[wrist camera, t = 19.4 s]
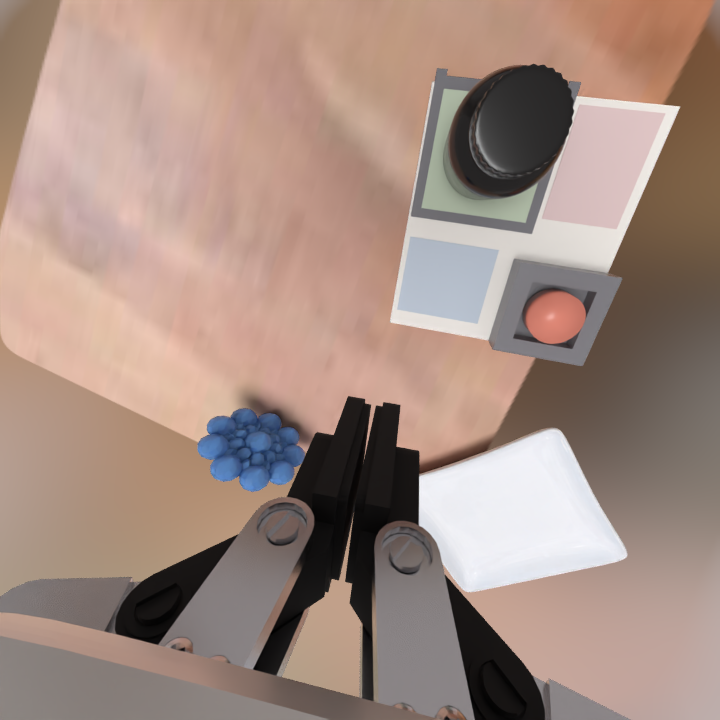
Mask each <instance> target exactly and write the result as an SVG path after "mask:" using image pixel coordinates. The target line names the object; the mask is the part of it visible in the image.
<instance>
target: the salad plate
mask: <svg viewBox="0 0 720 720" xmlns="http://www.w3.org/2000/svg"><path fill="white" fill-rule="evenodd" d="M419 526H421V527H423V528H424V529H425V530H426V531H427V532H429V533H430V534H431V536H432V537H433V538H434V540H435V541H436V543H437V545H438V548H439V551H440V555H441V560H442V563H443V564H444V566H445V567H446V569H447V570H448V571H449V573H450V574H451V575H452V577H453V578H454V580H455V581H456V582H457V583H458V585H459V586H460V587H461V588H462V589H463V590H464V591H467V592H475V591H481V590H485V589H490V588H495V587H500V586H505V585H510V584H514V583H519V582H524V581H529V580H534V579H538V578H543V577H547V576H552V575H558V574H562V573H567V572H572V571H577V570H581V569H586V568H591V567H596V566H601V565H605V564H610V563H614V562H617V561H620V560H623V559H625V558H626V557H627V550H626V548H625V546H624V544H623V542H622V540H621V539H620V537H619V535H618V534H617V532H616V531H615V529H614V528H613V526H612V524H611V523H610V521H609V519H608V518H607V516H606V514H605V513H604V511H603V509H602V508H601V506H600V504H599V502H598V500H597V499H596V497H595V495H594V493H593V491H592V490H591V488H590V486H589V483H588V481H587V479H586V477H585V475H584V473H583V471H582V469H581V467H580V465H579V463H578V461H577V459H576V457H575V455H574V453H573V451H572V449H571V447H570V445H569V443H568V441H567V439H566V437H565V436H564V435H563V433H562V431H561V430H559V429H557V428H552V427H550V428H544V429H540V430H538V431H535V432H532V433H530V434H527V435H525V436H523V437H520V438H518V439H516V440H514V441H511V442H508V443H506V444H503V445H501V446H498V447H496V448H493V449H490V450H488V451H485V452H482V453H480V454H477V455H474V456H471V457H469V458H466V459H463V460H460V461H458V462H455V463H452V464H449V465H446V466H443V467H440V468H437V469H434V470H431V471H428V472H425V473H421V474H419Z"/></svg>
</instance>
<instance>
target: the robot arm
mask: <svg viewBox="0 0 720 720" xmlns="http://www.w3.org/2000/svg"><path fill="white" fill-rule="evenodd" d="M370 409H371V405H370V404H365V399H362V398H356V397H350V396H348V398H347V401H346V403H345V406H344V409H343V412H342V414H341V417H340V420H339V422H338V425H337V428H336V431H335V433H334V435H329V434H324V433H318V432H317V433H316V434H315V436H314V438H313V440H312V442H311V444H310V447H309V449H308V451H307V453H306V456H305V458H304V460H303V462H302V464H301V467H300V469H299V471H298V473H297V476H296V478H295V480H294V482H293V484H292V487H291V489H290V491H289V493H288V496H287V497H281V498H277V499H273V500H270V501H268V502H266V503H265V504H263V505H262V506H261V507H260V508H259V509H258V510H257V511H256V512H255V513H254V514H253V516H252V517H251V518H250V520H249V521H248V522H247V524H246V525H245V527H244V528H243V529H242V531H241V532H240V533H239V534H238V535H236V536H234V537H232V538H229V539H227V540H225V541H223V542H221V543H219V544H217V545H215V546H213V547H210V548H208V549H206V550H204V551H202V552H200V553H198V554H196V555H194V556H192V557H189V558H187V559H185V560H183V561H181V562H179V563H177V564H174V565H172V566H170V567H168V568H166V569H164V570H162V571H160V572H158V573H155V574H153V575H152V576H150V577H149V578H147V579H145V580H144V581H142V582H133V579H132V577H118V578H117V577H116V578H71V579H40V580H35V581H30V582H26V583H24V584H22V585H19V586H17V587H15V588H12V589H11V590H9V591H8V592H6V593H5V594H3V595H2V596H0V720H630V719H628V718H626V717H624V716H622V715H620V714H618V713H616V712H614V711H612V710H610V709H608V708H607V707H605V706H603V705H600V704H599V703H597V702H595V701H593V700H590V699H589V698H587V697H585V696H582V695H581V694H579V693H577V692H575V691H573V690H571V689H568V688H567V687H565V686H563V685H561V684H559V683H557V682H555V681H553V680H551V679H548V680H547V682H546V683H545V682H544V681H541V680H539V679H538V678H536V677H534V676H532V675H531V673H530V672H529V671H528V669H527V668H526V666H525V665H524V664H523V663H522V661H521V660H520V659H519V658H518V657H517V656H516V655H515V653H514V652H513V651H512V650H511V649H510V648H509V647H508V645H507V644H506V643H505V642H504V641H503V640H502V639H501V638H500V636H499V635H498V634H497V633H496V632H495V631H494V630H493V629H492V627H491V626H490V625H489V624H488V623H487V622H486V621H485V619H484V618H483V617H482V616H481V615H480V614H479V613H478V612H477V610H476V609H475V608H474V607H473V606H472V605H471V604H470V602H469V601H468V600H467V599H466V598H465V597H464V596H463V595H462V593H461V592H460V591H459V590H458V589H457V588H456V587H455V586H454V584H453V583H452V582H451V581H450V580H449V579H448V578H447V576H446V575H445V574H444V569H443V565H442V560H441V555H440V551H439V548H438V545H437V543H436V541H435V540H434V538H433V537H432V536H431V534H430V533H429V532H427V531H426V530H425V529H424V528H423V527H421V526H419V451H417V450H411V449H406V448H400V447H396V444H397V434H398V424H399V414H400V405H397V404H391V403H385V402H384V403H383V407H382V406H376V408H375V413H374V418H373V422H372V427H371V431H370V436H369V441H368V445H367V450H366V454H365V447H366V440H367V432H368V424H369V417H370ZM364 455H365V459H364ZM363 463H364V464H363ZM353 513H354V516H353ZM352 518H353V524H352V532H351V540H350V548H349V556H348V564H347V572H346V580H345V582H348V583H352V590H351V597H350V604H351V606H352V607H353V609H354V611H355V612H356V614H357V615H358V617H359V619H360V621H361V626H360V696H359V697H355V696H351V695H347V694H343V693H340V692H336V691H332V690H328V689H324V688H321V687H317V686H313V685H309V684H306V683H302V682H298V681H294V680H290V679H286V678H283V677H282V675H283V673H284V670H285V668H286V666H287V663H288V661H289V658H290V656H291V654H292V651H293V649H294V646H295V644H296V641H297V639H298V637H299V634H300V632H301V629H302V627H303V625H304V622H305V620H306V617H307V615H308V612H309V608H310V606H311V605H313V604H314V603H316V602H317V601H318V600H320V599H322V598H323V597H324V595H325V592H328V591H329V587H330V583H331V579H335V580H339V577H340V574H341V568H342V564H343V560H344V555H345V550H346V546H347V541H348V537H349V532H350V527H351V523H352Z"/></svg>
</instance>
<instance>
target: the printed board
mask: <svg viewBox="0 0 720 720" xmlns="http://www.w3.org/2000/svg"><path fill="white" fill-rule="evenodd" d="M447 70H448V69H440V68H437V72H436V78H435V82H433V81H432V86H431V92H430V97H429V103H428V109H427V114H426V120H425V126H424V131H423V137H422V143H421V148H420V154H419V160H418V165H417V171H416V177H415V183H414V188H413V194H412V200H411V205H410V211H409V217H408V222H407V228H406V234H405V239H404V245H403V251H402V256H401V262H400V268H399V273H398V279H397V285H396V290H395V296H394V302H393V307H392V313H391V319H390V323H396V324H401V325H407V326H412V327H418V328H423V329H429V330H434V331H440V332H445V333H451V334H456V335H462V336H467V337H473V338H478V339H484V340H489V337H490V334H491V330H492V327H493V324H494V321H495V318H496V314H497V311H498V308H499V305H500V302H501V298H502V295H503V292H504V289H505V286H506V283H507V279H508V276H509V273H510V270H511V267H512V263H513V260H514V259H521V260H527V261H534V262H540V263H547V264H553V265H559V266H566V267H572V268H579V269H585V270H592V271H598V272H605V273H608V271H609V269H610V267H611V264H612V262H613V260H614V258H615V255H616V253H617V251H618V248H619V246H620V244H621V241H622V239H623V237H624V234H625V232H626V230H627V228H628V225H629V223H630V221H631V218H632V216H633V214H634V211H635V209H636V207H637V204H638V202H639V200H640V198H641V195H642V193H643V191H644V189H645V186H646V184H647V182H648V179H649V177H650V175H651V172H652V170H653V168H654V165H655V163H656V161H657V159H658V156H659V154H660V152H661V149H662V147H663V145H664V142H665V140H666V138H667V136H668V133H669V131H670V128H671V126H672V124H673V122H674V119H675V117H676V115H677V112H678V110H679V108H680V107H678V106H668V105H659V104H649V103H639V102H629V101H619V100H610V99H600V98H590V97H580V96H577V94H578V91H579V88H580V85H581V82H573V81H570V82H569V84H568V87H569V88H570V89H571V90H572V95H571V96H572V98H573V100H574V103H573V109H574V114H573V116H572V122H573V123H572V125H571V127H570V128H569V135H568V136H567V138H566V142H565V145H564V147H563V150H562V152H561V154H560V156H559V158H558V160H557V161H556V163H555V164H554V166H553V167H552V169H551V170H550V171H549V172H548V173H547V175H546V176H545V177H544V178H543V179H542V180H540V181H539V182H538V183H537V184H536V185H534V186H533V187H531V188H530V189H528V190H526V191H524V192H522V193H520V194H518V195H515V196H512V197H508V198H503V199H493V200H473V199H469V198H466V197H464V196H462V195H460V194H459V193H458V192H456V191H455V190H454V189H453V187H452V186H451V185H450V183H449V182H448V180H447V178H446V175H445V172H444V167H443V152H444V146H445V142H446V139H447V136H448V133H449V130H450V127H451V123H452V120H453V118H454V115H455V113H456V111H457V109H458V107H459V105H460V104H461V102H462V100H463V99H464V98H465V96H466V95H467V94H468V92H469V91H470V90H471V89H472V88H473V87H474V86H475V85H476V84H477V83H478V82H479V81H480V80H482V79H474V78H464V77H454V76H446V75H447Z"/></svg>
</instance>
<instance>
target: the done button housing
mask: <svg viewBox="0 0 720 720" xmlns="http://www.w3.org/2000/svg"><path fill="white" fill-rule="evenodd" d="M621 281H622V278H621V277H618V276H615V275H612V274H609V273H605V272H598V271H592V270H585V269H579V268H572V267H566V266H559V265H553V264H547V263H540V262H534V261H527V260H521V259H514V260H513V263H512V267H511V270H510V273H509V276H508V279H507V283H506V286H505V289H504V292H503V295H502V298H501V302H500V305H499V308H498V311H497V314H496V318H495V321H494V324H493V327H492V330H491V334H490V337H489V340H488V341H489V343H490V345H491V347H492V349H493V350H498V351H503V352H508V353H514V354H519V355H525V356H530V357H535V358H541V359H546V360H551V361H557V362H562V363H568V364H573V365H579V366H583V364H584V361H585V360H586V357H587V355H588V353H589V350H590V349H591V346H592V344H593V342H594V340H595V337H596V335H597V333H598V331H599V329H600V327H601V324H602V322H603V320H604V318H605V316H606V313H607V311H608V309H609V307H610V304H611V303H612V300H613V298H614V296H615V294H616V292H617V289H618V287H619V285H620V283H621ZM546 289H561V290H564V291H566V292H568V293H569V294H571V295H573V296H574V297H576V298H577V299H579V300H580V301H581V302H582V304H583V305H584V308H585V311H586V318H585V322H584V325H583V327H582V328H581V330H580V331H579V332H578V333H577V334H576V335H575V336H574V337H572V338H571V339H569V340H567V341H565V342H562V343H556V344H549V343H544V342H541V341H539V340H538V339H536V338H535V337H534V336H533V335H532V334H531V333H530V331H529V330H528V329H527V328H526V326H525V324H524V322H523V310H524V307H525V305H526V303H527V302H528V300H529V299H530V298H531V297H532V296H534V295H535V294H537V293H538V292H540V291H543V290H546Z"/></svg>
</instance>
